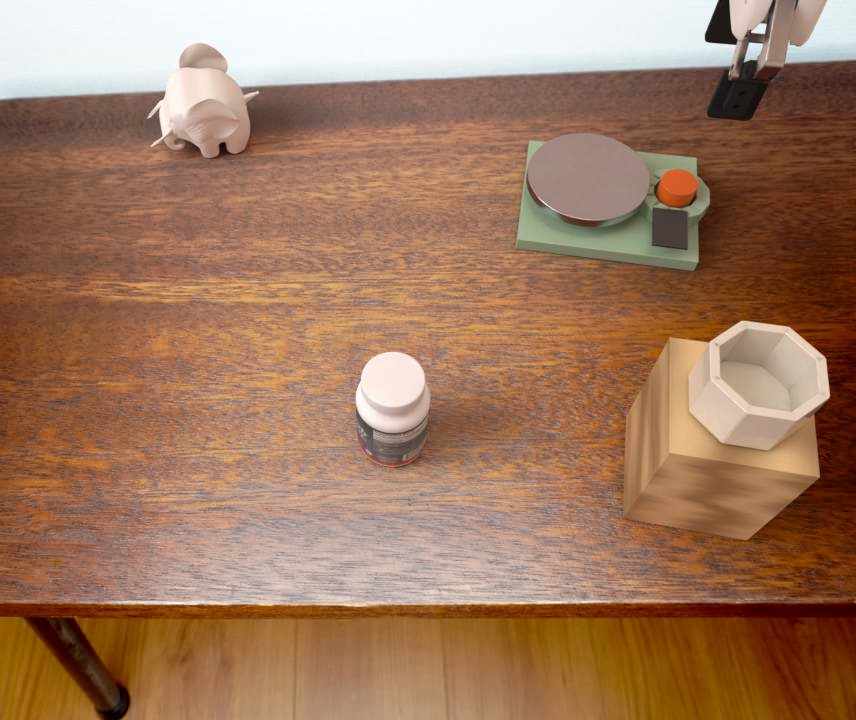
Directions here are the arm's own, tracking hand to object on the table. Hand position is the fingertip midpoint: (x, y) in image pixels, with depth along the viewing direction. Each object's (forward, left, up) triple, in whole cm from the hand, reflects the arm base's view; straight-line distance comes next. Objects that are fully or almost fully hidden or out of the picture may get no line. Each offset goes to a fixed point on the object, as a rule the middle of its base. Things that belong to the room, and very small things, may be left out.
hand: (726, 77), depth 64 cm
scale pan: (+6, +1, -13) cm, 15 cm away
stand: (-2, +27, -16) cm, 31 cm away
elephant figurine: (+46, -3, -16) cm, 49 cm away
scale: (+5, 0, -16) cm, 17 cm away
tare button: (0, 0, -13) cm, 13 cm away
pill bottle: (+21, +28, -16) cm, 39 cm away
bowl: (-2, +27, -4) cm, 27 cm away
